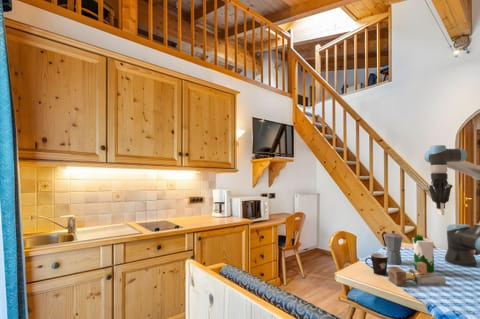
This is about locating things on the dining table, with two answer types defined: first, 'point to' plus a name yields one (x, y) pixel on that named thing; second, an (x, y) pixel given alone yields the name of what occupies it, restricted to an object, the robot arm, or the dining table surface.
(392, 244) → the moka pot
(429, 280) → the sliding bolt latch
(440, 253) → the dining table surface
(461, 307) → the dining table surface
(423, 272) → the gold piece
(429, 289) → the dining table surface
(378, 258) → the coffee mug
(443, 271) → the dining table surface
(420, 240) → the milk carton
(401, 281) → the brown wooden block
